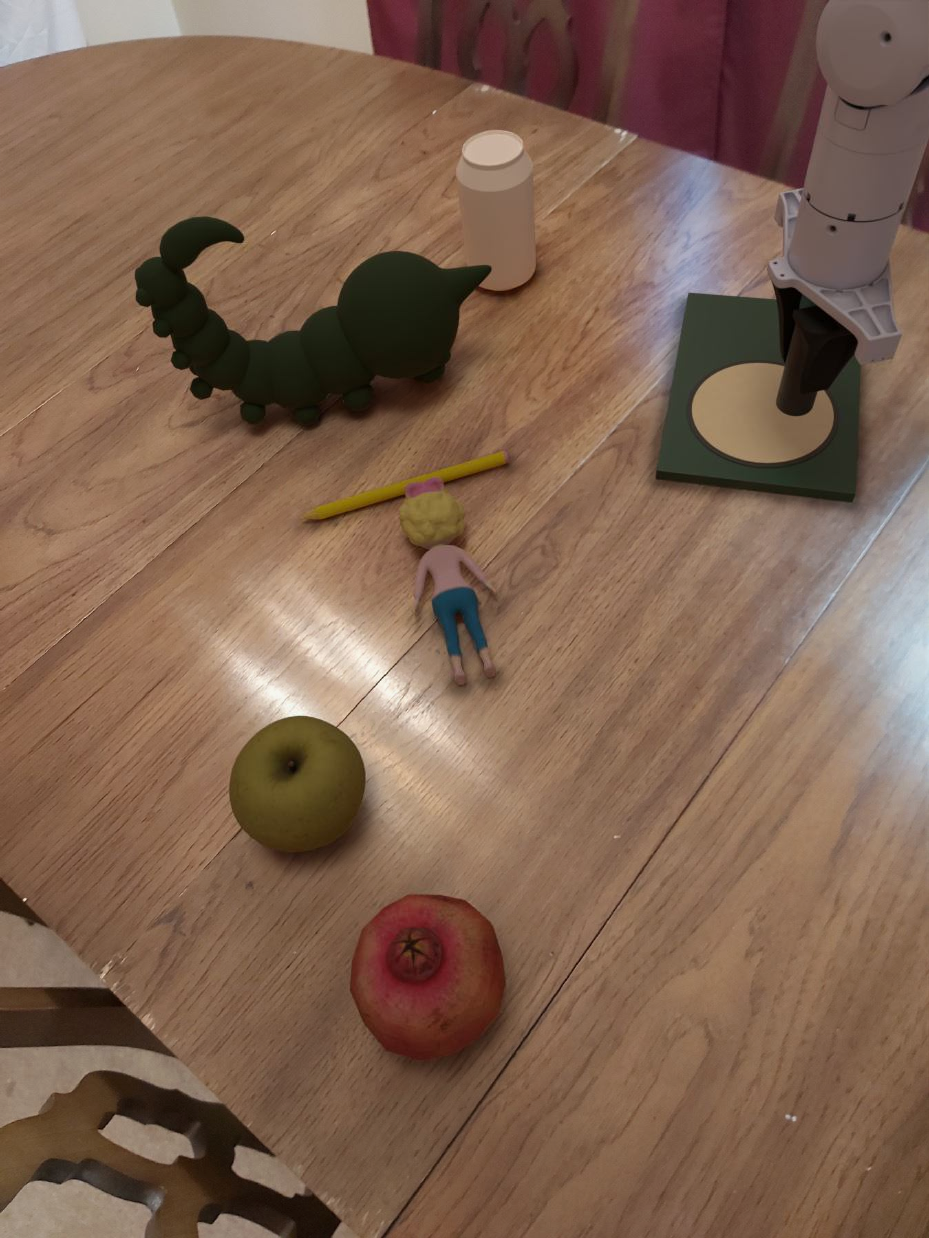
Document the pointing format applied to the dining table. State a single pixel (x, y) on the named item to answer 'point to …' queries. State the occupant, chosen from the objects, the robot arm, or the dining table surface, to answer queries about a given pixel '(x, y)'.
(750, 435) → the kitchen scale
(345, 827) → the apple
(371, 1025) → the fruit
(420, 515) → the figurine
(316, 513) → the pencil
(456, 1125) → the dining table surface
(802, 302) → the pill bottle
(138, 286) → the toy caterpillar
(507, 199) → the beverage can
